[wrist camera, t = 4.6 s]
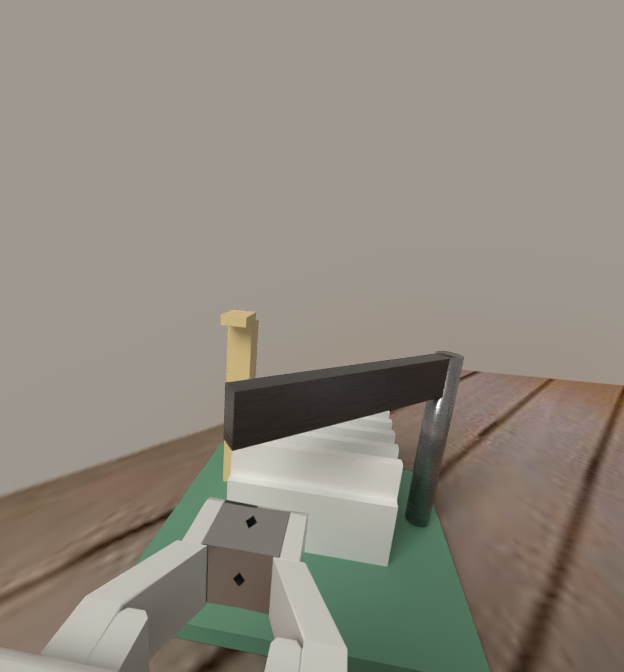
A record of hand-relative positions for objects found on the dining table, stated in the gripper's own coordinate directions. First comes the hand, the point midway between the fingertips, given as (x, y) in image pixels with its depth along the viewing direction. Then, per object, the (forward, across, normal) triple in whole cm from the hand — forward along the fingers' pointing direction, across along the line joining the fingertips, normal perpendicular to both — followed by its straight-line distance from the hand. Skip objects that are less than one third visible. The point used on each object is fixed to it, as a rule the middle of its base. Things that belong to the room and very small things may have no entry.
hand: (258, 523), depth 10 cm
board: (+15, -1, +14) cm, 21 cm away
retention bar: (+12, -4, +13) cm, 18 cm away
